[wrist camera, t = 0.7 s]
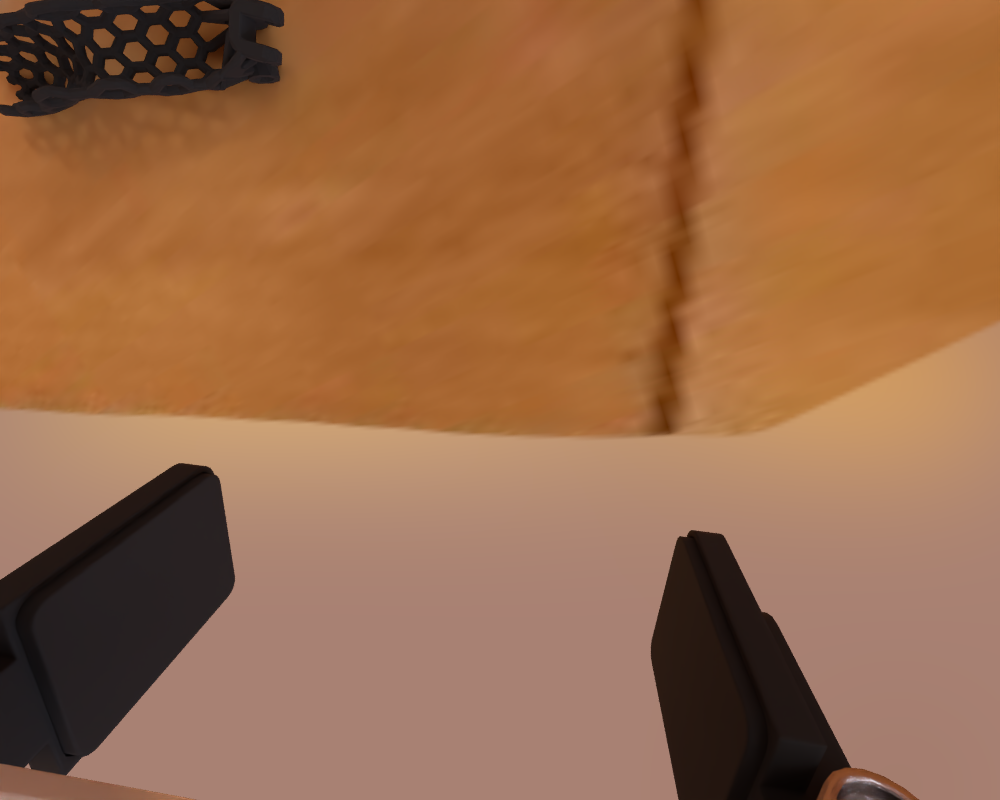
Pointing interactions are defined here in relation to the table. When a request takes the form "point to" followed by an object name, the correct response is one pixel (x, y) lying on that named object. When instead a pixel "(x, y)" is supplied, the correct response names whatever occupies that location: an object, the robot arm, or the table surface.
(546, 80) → the table surface
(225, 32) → the decorative element
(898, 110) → the table surface
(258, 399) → the table surface
